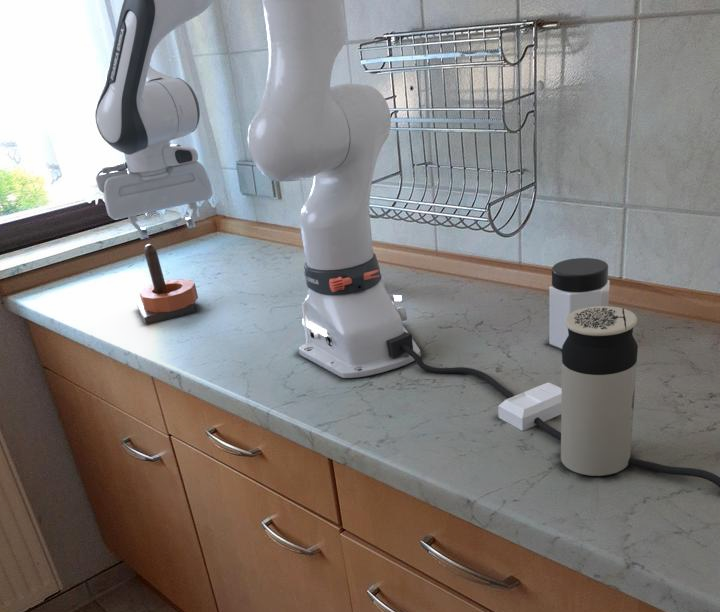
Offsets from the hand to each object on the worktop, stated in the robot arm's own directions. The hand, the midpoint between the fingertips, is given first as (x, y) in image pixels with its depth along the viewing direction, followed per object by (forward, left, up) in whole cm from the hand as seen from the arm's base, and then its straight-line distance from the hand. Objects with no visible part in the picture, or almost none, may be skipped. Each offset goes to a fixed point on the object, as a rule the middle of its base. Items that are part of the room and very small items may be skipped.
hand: (168, 232), depth 154 cm
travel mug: (-94, -31, -15) cm, 100 cm away
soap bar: (-80, -32, -15) cm, 87 cm away
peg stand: (0, +4, -15) cm, 16 cm away
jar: (-64, -50, -15) cm, 82 cm away
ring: (0, +3, -14) cm, 14 cm away
